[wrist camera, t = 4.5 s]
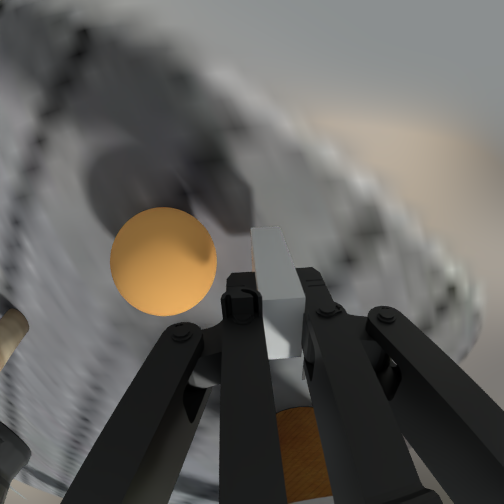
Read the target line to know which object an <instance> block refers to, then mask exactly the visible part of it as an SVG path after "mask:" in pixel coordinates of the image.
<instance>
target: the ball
mask: <svg viewBox="0 0 504 504" xmlns="http://www.w3.org/2000/svg"><path fill="white" fill-rule="evenodd" d="M216 266H217V258H216V250H215V247H214V244H213V241H212V238H211V236H210V234H209V233H208V231H207V230H206V228H205V227H204V226H203V225H202V224H201V223H200V222H199V221H198V220H197V219H196V218H194V217H193V216H192V215H190V214H188V213H186V212H184V211H181V210H179V209H175V208H168V207H157V208H151V209H148V210H145V211H142V212H140V213H138V214H136V215H135V216H133V217H132V218H131V219H129V220H128V221H127V222H126V223H125V224H124V225H123V227H122V228H121V229H120V231H119V232H118V234H117V236H116V237H115V240H114V243H113V245H112V249H111V256H110V268H111V273H112V277H113V280H114V283H115V285H116V287H117V289H118V291H119V292H120V294H121V295H122V296H123V297H124V299H125V300H126V301H127V302H128V303H130V304H131V305H132V306H134V307H135V308H137V309H138V310H140V311H143V312H145V313H148V314H151V315H157V316H170V315H176V314H179V313H182V312H185V311H187V310H189V309H191V308H192V307H194V306H195V305H196V304H197V303H199V302H200V301H201V300H202V299H203V298H204V296H205V295H206V294H207V292H208V291H209V289H210V287H211V285H212V283H213V281H214V277H215V273H216Z"/></svg>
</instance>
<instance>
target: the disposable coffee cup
mask: <svg viewBox="0 0 504 504" xmlns="http://www.w3.org/2000/svg"><path fill="white" fill-rule="evenodd" d="M276 420H277V427H278V435H279V442H280V450H281V457H282V465H283V473H284V480H285V488H286V495H287V503H288V504H334V500H333V495H332V490H331V486H330V481H329V476H328V472H327V467H326V462H325V458H324V453H323V449H322V444H321V440H320V435H319V431H318V427H317V422H316V418H315V414H314V409H313V407H298V408H292V409H288V410H284V411H281V412H279V413H277V414H276Z"/></svg>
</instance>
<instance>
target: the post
mask: <svg viewBox="0 0 504 504" xmlns="http://www.w3.org/2000/svg"><path fill="white" fill-rule="evenodd" d="M28 330H29V324H28V322H27V320H26V318H25V317H24V316H23V314H22V313H20V312H19V311H18V310H16V309H9V310H8V311H7V312H6V313H5V315H4V316H3V317H2V318H1V319H0V371H1V370H2V368H3V367H4V365H5V364H6V362H7V361H8V359H9V358H10V356H11V355H12V353H13V352H14V350H15V349H16V347H17V346H18V345H19V343H20V342H21V340H22V339H23V337H24V336H25V335H26V333H27V332H28Z"/></svg>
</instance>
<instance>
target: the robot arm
mask: <svg viewBox="0 0 504 504" xmlns="http://www.w3.org/2000/svg"><path fill="white" fill-rule="evenodd" d="M251 250H252V272H240V273H231V275H230V276H229V277H228V278H227V284H226V292H225V293H224V294H223V295H222V297H221V306H222V315H223V320H222V321H221V322H220V323H219V324H217V325H215V326H214V327H211V328H208V329H204V330H201V329H200V327H199V326H197V325H196V324H193V323H189V322H181V323H176V324H173V325H171V326H169V327H168V328H167V329H166V330H165V331H164V332H163V333H162V335H161V336H160V338H159V340H158V341H157V343H156V344H155V346H154V347H153V349H152V351H151V352H150V354H149V355H148V357H147V359H146V360H145V362H144V363H143V365H142V366H141V368H140V370H139V371H138V373H137V375H136V376H135V378H134V379H133V381H132V383H131V384H130V386H129V387H128V389H127V391H126V392H125V394H124V396H123V397H122V399H121V400H120V402H119V404H118V405H117V407H116V409H115V410H114V412H113V414H112V415H111V417H110V419H109V420H108V422H107V424H106V425H105V427H104V429H103V430H102V432H101V434H100V435H99V437H98V439H97V440H96V442H95V444H94V446H93V447H92V449H91V451H90V452H89V454H88V456H87V457H86V459H85V461H84V463H83V464H82V466H81V468H80V470H79V471H78V473H77V475H76V477H75V478H74V480H73V482H72V484H71V485H70V487H69V489H68V491H67V493H66V494H65V496H64V498H63V500H62V502H61V503H60V504H168V501H169V499H170V496H171V494H172V491H173V489H174V486H175V484H176V481H177V478H178V476H179V473H180V471H181V468H182V466H183V463H184V461H185V458H186V455H187V453H188V450H189V448H190V445H191V442H192V440H193V437H194V435H195V432H196V429H197V427H198V424H199V422H200V419H201V416H202V414H203V411H204V409H205V406H206V403H207V401H208V398H209V395H210V393H211V390H212V386H215V385H218V384H221V396H220V450H219V504H288V503H287V495H286V488H285V480H284V473H283V465H282V457H281V450H280V442H279V435H278V427H277V420H276V412H275V405H274V397H273V390H272V382H271V375H270V367H269V360H268V359H281V358H292V357H301V353H302V349H303V353H304V363H303V373H302V380H305V375H306V379H307V384H308V388H309V392H310V396H311V401H312V405H313V409H314V414H315V418H316V422H317V427H318V431H319V435H320V440H321V444H322V449H323V453H324V458H325V462H326V467H327V472H328V476H329V481H330V486H331V490H332V495H333V500H334V504H443V502H442V501H441V499H440V497H439V495H438V494H437V493H436V492H435V491H434V490H430V489H427V488H425V487H424V486H422V483H421V482H420V479H419V476H418V474H417V471H416V469H415V466H414V463H413V461H412V458H411V456H410V453H409V450H408V448H407V445H406V443H405V441H404V438H403V436H404V437H405V438H406V440H407V441H408V442H409V444H410V445H411V446H412V448H413V449H414V450H415V452H416V453H417V454H418V456H419V457H420V458H421V460H422V461H423V462H424V463H425V465H426V466H427V467H428V469H429V470H430V471H431V473H432V474H433V476H434V477H435V478H436V480H437V481H438V482H439V484H440V485H441V486H442V488H443V489H444V490H445V492H446V493H447V495H448V496H449V497H450V499H451V500H452V501H453V502H454V504H504V411H503V410H502V409H501V408H500V407H499V406H498V405H497V404H496V403H495V402H494V401H493V400H492V399H491V398H490V397H489V396H488V395H487V394H486V393H485V392H484V391H483V390H482V389H481V388H480V387H479V386H478V385H477V384H476V383H475V382H474V381H473V380H472V379H471V378H470V377H469V376H468V375H467V374H466V373H465V372H464V371H463V370H462V369H461V368H460V367H459V366H458V365H457V364H456V363H455V362H454V361H453V360H452V359H451V358H450V357H449V356H448V355H447V354H445V353H444V352H443V351H442V350H441V349H440V348H439V347H438V346H437V345H436V344H435V343H434V342H433V341H432V340H431V339H429V338H428V337H427V336H426V335H425V334H424V333H423V332H422V331H421V330H420V329H419V328H417V327H416V326H415V325H414V324H413V323H412V322H411V321H410V320H409V319H408V318H406V317H405V316H404V315H403V314H402V313H401V312H399V311H398V310H396V309H395V308H392V307H388V306H378V307H375V308H373V309H371V310H370V311H369V313H368V317H364V316H355V315H350V314H347V312H346V310H345V309H344V308H343V307H342V306H341V305H340V304H338V303H336V302H334V301H333V299H332V297H331V295H330V293H329V291H328V289H327V287H326V286H325V282H324V280H323V278H322V276H321V274H320V272H318V271H317V270H316V269H314V268H313V267H307V268H295V266H294V264H293V261H292V258H291V255H290V253H289V250H288V247H287V245H286V242H285V239H284V237H283V234H282V231H281V229H280V226H276V227H257V228H251ZM392 360H393V361H394V362H395V363H396V364H397V365H396V364H395V363H394V362H393V361H392ZM402 434H403V436H402ZM30 457H31V451H30V449H29V448H28V447H27V446H26V444H25V443H24V442H23V441H22V440H21V439H20V438H18V437H17V436H16V435H15V434H14V433H13V432H12V431H10V430H9V429H8V428H7V427H6V426H4V425H3V424H2V423H0V504H4V502H5V499H6V495H7V492H8V489H9V486H10V483H11V481H12V480H13V478H14V477H15V476H16V475H17V474H18V473H19V471H20V470H21V469H22V467H23V466H25V465H27V464H28V462H29V459H30Z"/></svg>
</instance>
